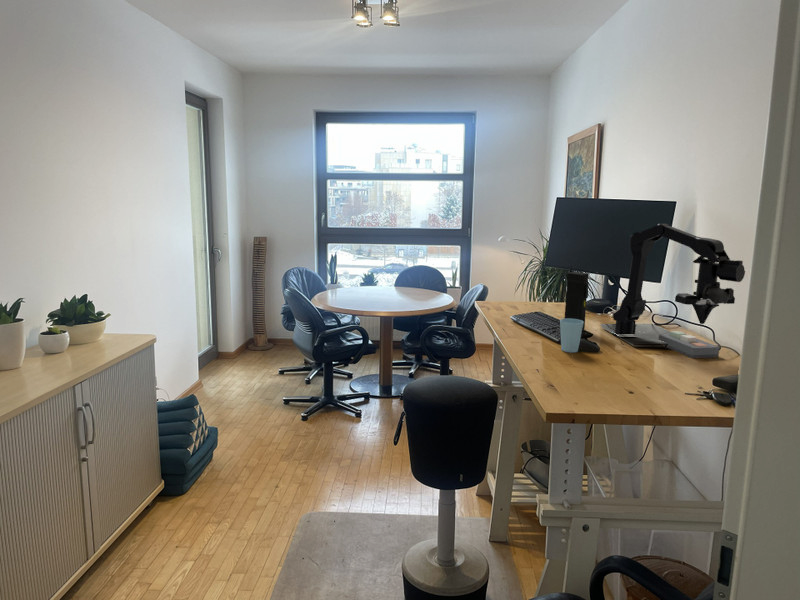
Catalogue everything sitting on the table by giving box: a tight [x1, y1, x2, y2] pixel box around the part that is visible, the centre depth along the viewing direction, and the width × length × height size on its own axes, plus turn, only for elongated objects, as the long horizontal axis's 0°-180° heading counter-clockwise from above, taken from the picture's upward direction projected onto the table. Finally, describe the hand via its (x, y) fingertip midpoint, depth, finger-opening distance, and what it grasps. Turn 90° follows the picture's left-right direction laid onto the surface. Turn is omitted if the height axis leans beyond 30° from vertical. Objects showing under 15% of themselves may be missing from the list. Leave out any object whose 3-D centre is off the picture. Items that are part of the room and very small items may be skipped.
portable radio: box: [563, 265, 590, 331], centre depth 226 cm, size 8×6×25 cm
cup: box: [559, 318, 584, 353], centre depth 197 cm, size 8×8×10 cm
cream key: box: [680, 334, 698, 342], centre depth 201 cm, size 4×4×2 cm
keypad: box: [658, 333, 720, 359], centre depth 201 cm, size 10×18×4 cm, turn 12°
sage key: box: [669, 330, 687, 338], centre depth 206 cm, size 4×4×2 cm
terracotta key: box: [691, 343, 707, 347], centre depth 196 cm, size 4×4×2 cm
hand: (701, 323), depth 194 cm, fingers closed
